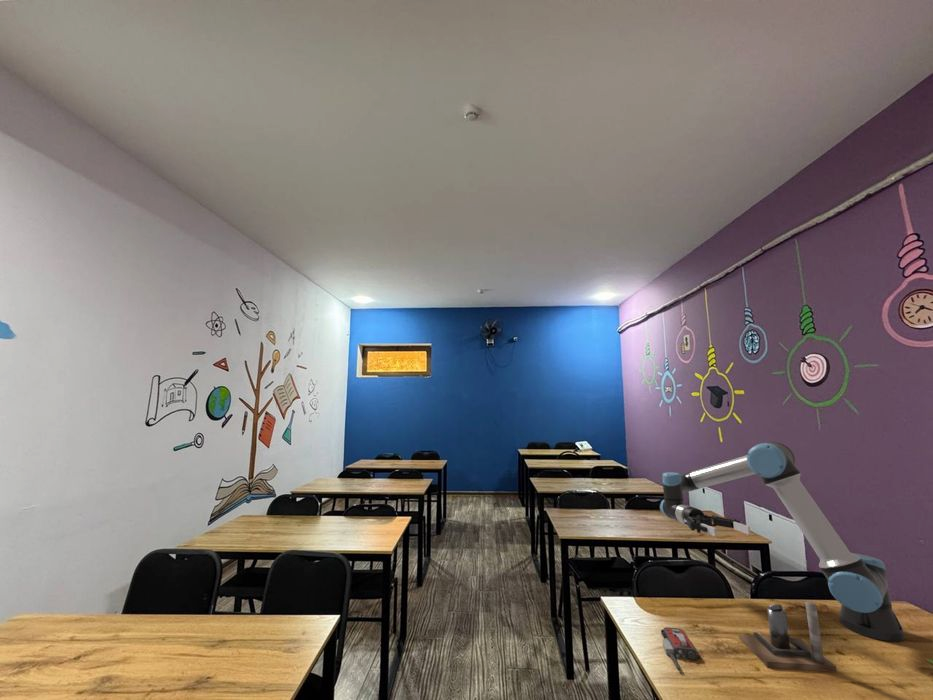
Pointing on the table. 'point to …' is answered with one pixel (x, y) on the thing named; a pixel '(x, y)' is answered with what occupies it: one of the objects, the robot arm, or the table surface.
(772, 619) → the grey metal canister
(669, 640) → the walkie-talkie
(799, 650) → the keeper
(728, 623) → the table surface
